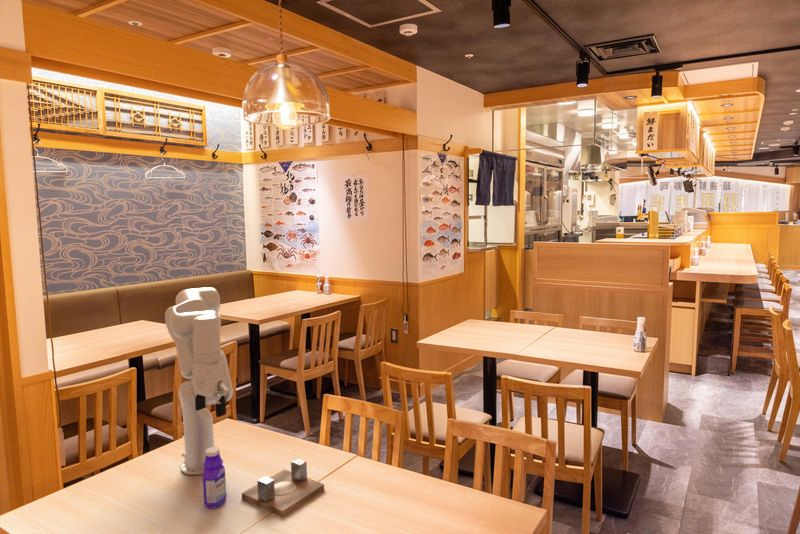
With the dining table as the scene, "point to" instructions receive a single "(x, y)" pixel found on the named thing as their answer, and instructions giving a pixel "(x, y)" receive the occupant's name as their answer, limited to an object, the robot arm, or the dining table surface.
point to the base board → (285, 493)
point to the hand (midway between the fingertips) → (210, 412)
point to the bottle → (213, 479)
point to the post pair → (267, 484)
